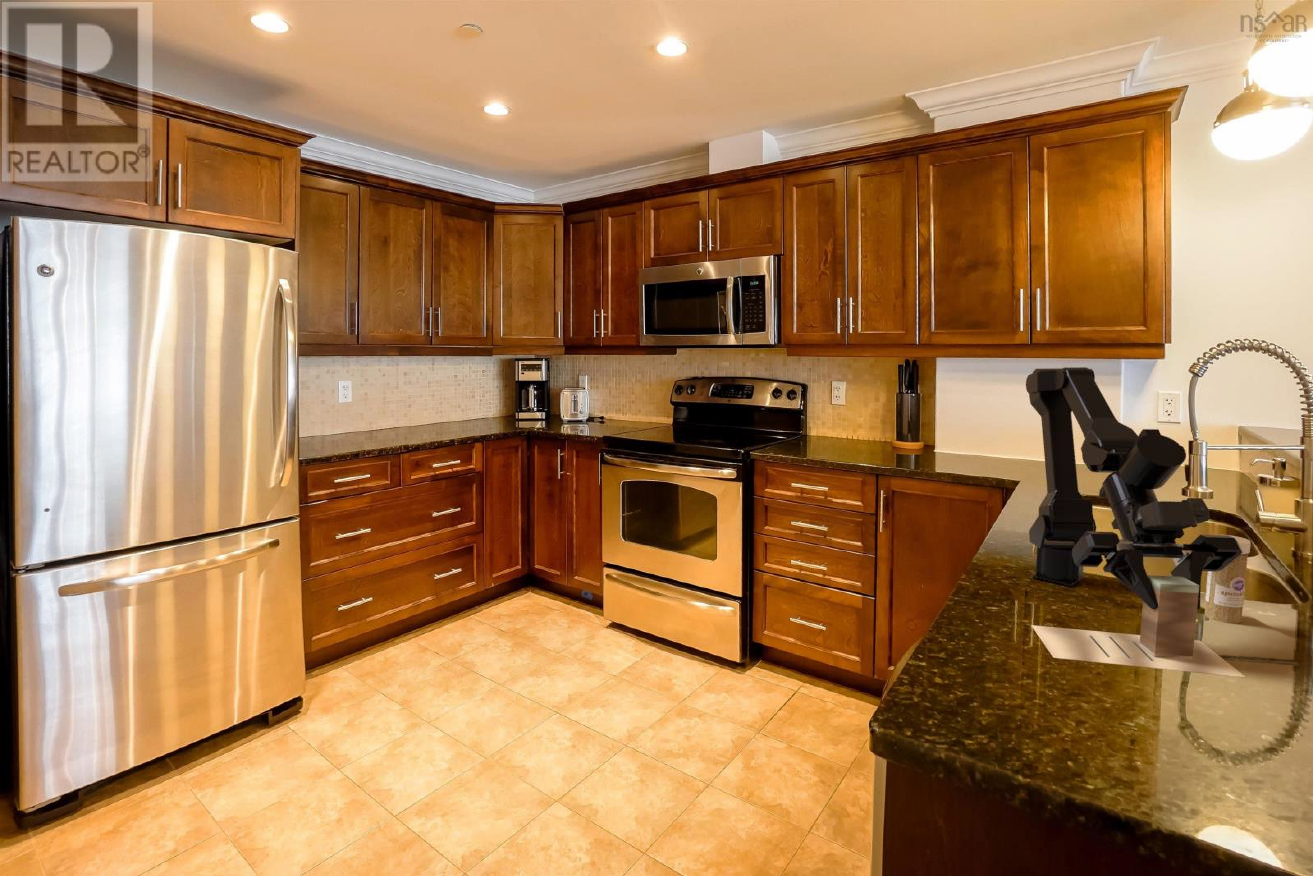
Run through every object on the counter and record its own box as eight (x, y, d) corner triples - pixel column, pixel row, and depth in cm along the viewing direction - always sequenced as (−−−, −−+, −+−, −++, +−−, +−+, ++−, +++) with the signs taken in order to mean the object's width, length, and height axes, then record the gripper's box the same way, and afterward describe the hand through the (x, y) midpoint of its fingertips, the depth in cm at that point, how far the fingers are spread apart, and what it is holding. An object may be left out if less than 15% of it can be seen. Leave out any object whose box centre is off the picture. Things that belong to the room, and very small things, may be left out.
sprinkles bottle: (1228, 631, 97) (1236, 542, 95) (1195, 620, 101) (1202, 535, 99) (1249, 627, 98) (1258, 540, 96) (1216, 616, 102) (1224, 532, 101)
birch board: (1053, 664, 87) (1053, 657, 87) (1031, 631, 97) (1031, 625, 97) (1244, 685, 81) (1245, 677, 81) (1199, 647, 92) (1200, 640, 91)
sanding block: (1154, 657, 87) (1160, 583, 85) (1139, 645, 90) (1145, 575, 89) (1192, 659, 86) (1199, 585, 85) (1175, 647, 89) (1182, 576, 88)
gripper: (1086, 474, 91) (1124, 578, 81) (1239, 477, 88) (1296, 585, 78) (1058, 517, 99) (1088, 615, 90) (1196, 520, 96) (1242, 622, 87)
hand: (1175, 609), depth 86 cm, fingers closed on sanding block, 4 cm apart
